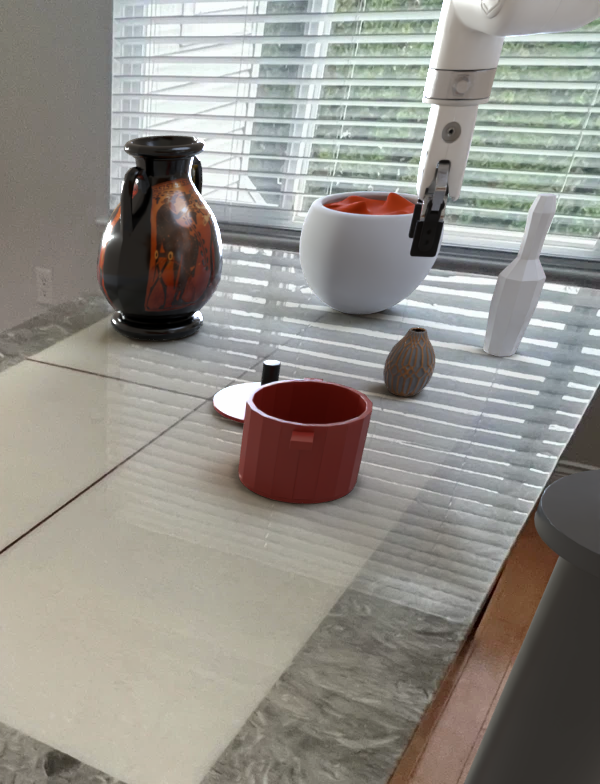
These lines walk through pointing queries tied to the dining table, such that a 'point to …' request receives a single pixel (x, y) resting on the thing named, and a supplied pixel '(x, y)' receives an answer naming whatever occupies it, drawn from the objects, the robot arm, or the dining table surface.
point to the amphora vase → (160, 243)
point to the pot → (361, 250)
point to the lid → (243, 393)
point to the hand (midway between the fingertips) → (421, 246)
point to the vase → (410, 363)
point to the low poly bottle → (520, 283)
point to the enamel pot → (303, 440)
